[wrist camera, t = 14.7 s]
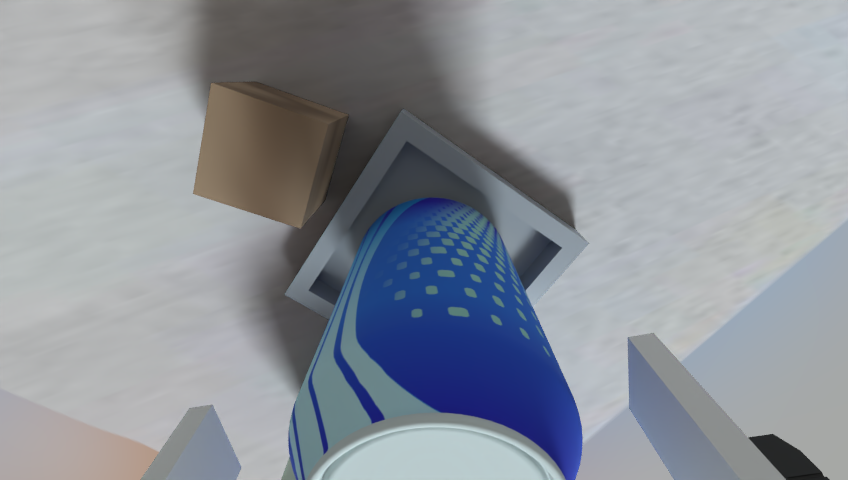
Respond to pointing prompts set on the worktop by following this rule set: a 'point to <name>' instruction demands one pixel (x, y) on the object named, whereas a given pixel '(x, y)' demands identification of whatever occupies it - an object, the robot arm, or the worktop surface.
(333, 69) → the worktop surface
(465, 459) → the beer can
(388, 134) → the slate tray
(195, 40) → the worktop surface
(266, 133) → the walnut block
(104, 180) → the worktop surface
